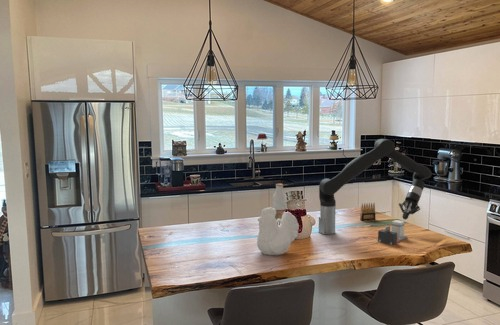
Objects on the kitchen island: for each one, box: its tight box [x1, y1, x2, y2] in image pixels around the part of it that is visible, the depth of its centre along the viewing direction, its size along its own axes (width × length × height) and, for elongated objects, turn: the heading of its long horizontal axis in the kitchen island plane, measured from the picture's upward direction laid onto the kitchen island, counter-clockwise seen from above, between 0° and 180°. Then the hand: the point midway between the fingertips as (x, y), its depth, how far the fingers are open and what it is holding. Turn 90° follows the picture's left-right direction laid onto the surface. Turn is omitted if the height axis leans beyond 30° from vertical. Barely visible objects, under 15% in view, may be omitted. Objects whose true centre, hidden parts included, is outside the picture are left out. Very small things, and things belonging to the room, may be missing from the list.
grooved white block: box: [391, 219, 405, 238], centre depth 228 cm, size 5×5×9 cm
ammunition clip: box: [359, 202, 376, 222], centre depth 272 cm, size 11×2×12 cm, turn 104°
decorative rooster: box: [256, 207, 300, 256], centre depth 208 cm, size 25×16×25 cm, turn 108°
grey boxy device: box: [377, 225, 408, 246], centre depth 224 cm, size 18×9×10 cm, turn 134°
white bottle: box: [271, 183, 288, 225], centre depth 257 cm, size 9×9×28 cm
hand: (404, 218), depth 233 cm, fingers closed
